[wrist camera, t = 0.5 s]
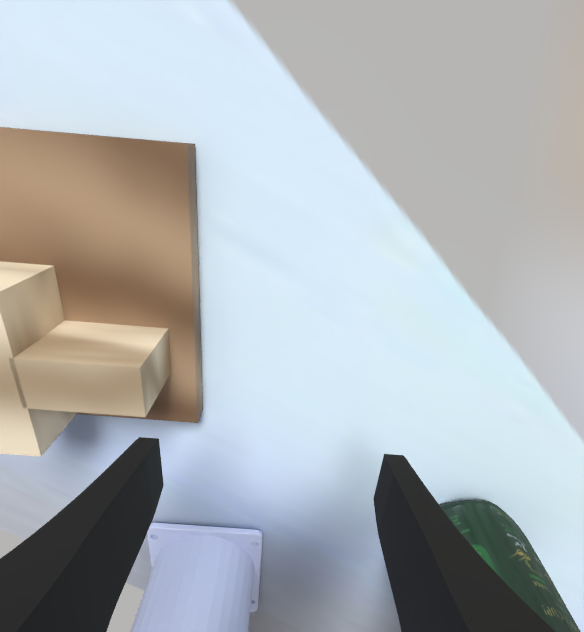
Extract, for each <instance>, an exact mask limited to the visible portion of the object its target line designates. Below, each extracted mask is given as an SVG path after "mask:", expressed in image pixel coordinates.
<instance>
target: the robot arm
mask: <svg viewBox="0 0 584 632" xmlns="http://www.w3.org/2000/svg"><path fill="white" fill-rule="evenodd" d="M162 488H163V476H162V466H161V457H160V447H159V439H156V438H141V437H139V438H138V439H137V440H136V441H135V442H134V443H133V444H132V445H131V446H130V447H129V448H128V449H127V450H126V451H125V452H124V453H123V454H122V455H121V456H120V457H119V458H118V459H117V460H116V461H115V462H114V463H113V464H112V465H110V466H109V467H108V468H107V469H106V470H105V471H104V472H103V473H102V474H101V475H100V476H99V477H98V478H97V479H96V480H95V481H94V482H93V483H92V484H91V485H89V486H88V487H87V488H86V489H85V490H84V491H83V492H82V493H81V494H80V495H79V496H78V497H76V498H75V499H74V500H73V501H72V502H71V503H70V504H68V505H67V506H66V507H65V508H64V509H63V510H61V511H60V512H59V513H58V514H57V515H56V516H55V517H53V518H52V519H51V520H50V521H49V522H47V523H46V524H45V525H44V526H42V527H41V528H40V529H39V530H38V531H36V532H35V533H34V534H33V535H31V536H30V537H29V538H27V539H26V540H25V541H23V543H21V544H20V545H18V546H17V547H16V548H14V549H13V550H12V551H11V552H9V553H8V554H6V555H5V556H3V557H2V558H1V559H0V632H106V631H107V628H108V625H109V622H110V619H111V616H112V614H113V611H114V609H115V606H116V603H117V601H118V599H119V596H120V594H121V592H122V589H123V587H124V585H125V583H126V580H127V578H128V576H129V573H130V571H131V569H132V566H133V564H134V562H135V560H136V557H137V555H138V553H139V550H140V548H141V546H142V543H143V541H144V539H145V536H146V534H147V539H148V546H149V554H150V561H151V569H152V571H151V574H150V577H149V580H148V582H147V585H146V588H145V591H144V594H143V597H142V600H141V602H140V605H139V608H138V611H137V614H136V617H135V620H134V623H133V625H132V628H131V631H130V632H248V629H249V620H250V612H255V611H257V609H258V597H259V583H260V568H261V554H262V539H263V534H262V532H261V531H259V530H254V529H240V528H225V527H211V526H197V525H182V524H168V523H151V522H152V520H153V517H154V514H155V511H156V508H157V505H158V502H159V498H160V495H161V491H162ZM374 506H375V514H376V522H377V528H378V535H379V539H380V543H381V547H382V551H383V555H384V560H385V564H386V568H387V572H388V576H389V580H390V584H391V588H392V592H393V596H394V600H395V604H396V608H397V612H398V617H399V621H400V626H401V631H402V632H556V631H555V630H554V629H553V628H552V627H550V626H549V625H548V624H547V623H546V622H545V621H544V620H543V619H542V618H541V617H540V616H539V615H538V614H537V613H536V612H535V611H533V610H532V609H531V608H530V607H529V606H528V605H527V604H526V603H525V602H524V601H523V600H522V599H521V598H520V597H519V596H518V595H517V594H516V593H515V592H514V591H513V590H512V589H511V588H510V587H509V586H508V585H507V584H506V583H505V582H504V581H503V580H502V579H501V578H500V577H499V576H498V575H497V573H496V572H495V571H494V570H493V569H492V568H491V567H490V566H489V565H488V564H487V563H486V562H485V560H484V559H483V558H482V557H481V556H480V555H479V554H478V552H477V551H476V550H475V549H474V548H473V547H472V545H471V544H470V543H469V542H468V541H467V539H466V538H465V537H464V536H463V535H462V534H461V532H460V531H459V530H458V529H457V527H456V526H455V525H454V524H453V522H452V521H451V520H450V518H449V517H448V516H447V515H446V513H445V512H444V511H443V509H442V508H441V507H440V505H439V504H438V503H437V502H436V500H435V499H434V497H433V496H432V495H431V493H430V492H429V491H428V489H427V488H426V486H425V485H424V484H423V482H422V481H421V479H420V478H419V477H418V475H417V474H416V472H415V471H414V469H413V468H412V467H411V465H410V464H409V462H408V461H407V459H406V458H405V457H404V456H403V455H389V454H384V458H383V462H382V466H381V470H380V474H379V479H378V483H377V487H376V491H375V495H374Z"/></svg>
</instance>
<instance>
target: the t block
mask: <svg viewBox="0 0 584 632" xmlns="http://www.w3.org/2000/svg"><path fill="white" fill-rule="evenodd" d="M171 372H172V371H171V357H170V343H169V329H168V328H156V327H143V326H130V325H118V324H105V323H92V322H79V321H66V320H65V318H64V313H63V308H62V303H61V298H60V294H59V289H58V284H57V279H56V274H55V269H54V266H51V265H39V264H26V263H14V262H2V261H0V454H13V455H27V456H42V455H43V454H44V453H45V451H46V450H47V449H48V448H49V447H50V445H51V444H52V443H53V442H54V441H55V439H56V438H57V437H58V436H59V435H60V433H61V432H62V431H63V430H64V429H65V427H66V426H67V425H68V424H69V423H70V421H71V420H72V419H73V418H74V417H75V415H76V414H77V413H78V412H81V413H95V414H108V415H122V416H135V417H146V415H147V414H148V412H149V410H150V408H151V407H152V405H153V403H154V401H155V400H156V398H157V396H158V394H159V393H160V391H161V389H162V387H163V386H164V384H165V382H166V380H167V379H168V377H169V375H170V373H171Z"/></svg>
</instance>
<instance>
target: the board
mask: <svg viewBox="0 0 584 632" xmlns="http://www.w3.org/2000/svg"><path fill="white" fill-rule="evenodd" d="M0 261H2V262H14V263H26V264H39V265H51V266H54V269H55V274H56V279H57V284H58V289H59V294H60V298H61V303H62V308H63V313H64V318H65V320H66V321H79V322H92V323H105V324H118V325H130V326H143V327H156V328H168V329H169V343H170V357H171V371H172V372H171V373H170V375H169V377H168V379H167V380H166V382H165V384H164V386H163V387H162V389H161V391H160V393H159V394H158V396H157V398H156V400H155V401H154V403H153V405H152V407H151V408H150V410H149V412H148V414H147V415H146V417H135V416H122V415H108V414H95V413H81V412H78V413H77V414H86V415H100V416H113V417H126V418H140V419H153V420H167V421H180V422H194V423H198V421H199V418H200V415H201V412H202V410H203V396H202V362H201V328H200V295H199V261H198V228H197V194H196V160H195V144H189V143H177V142H166V141H154V140H143V139H131V138H120V137H108V136H97V135H85V134H74V133H62V132H51V131H39V130H28V129H16V128H5V127H0Z"/></svg>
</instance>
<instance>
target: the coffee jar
mask: <svg viewBox="0 0 584 632" xmlns="http://www.w3.org/2000/svg"><path fill="white" fill-rule="evenodd" d="M440 507H441V508H442V509H443V511H444V512H445V513H446V515H447V516H448V517H449V518H450V520H451V521H452V522H453V524H454V525H455V526H456V527H457V529H458V530H459V531H460V532H461V534H462V535H463V536H464V537H465V538H466V539H467V541H468V542H469V543H470V544H471V545H472V547H473V548H474V549H475V550H476V551H477V552H478V554H479V555H480V556H481V557H482V558H483V559H484V560H485V562H486V563H487V564H488V565H489V566H490V567H491V568H492V569H493V570H494V571H495V572H496V573H497V575H498V576H499V577H500V578H501V579H502V580H503V581H504V582H505V583H506V584H507V585H508V586H509V587H510V588H511V589H512V590H513V591H514V592H515V593H516V594H517V595H518V596H519V597H520V598H521V599H522V600H523V601H524V602H525V603H526V604H527V605H528V606H529V607H530V608H531V609H532V610H533V611H535V612H536V613H537V614H538V615H539V616H540V617H541V618H542V619H543V620H544V621H545V622H546V623H547V624H548V625H549V626H550V627H552V628H553V629H554V630H555V631H556V632H580V630H579V628H578V626H577V625H576V623H575V621H574V619H573V618H572V616H571V614H570V612H569V611H568V609H567V607H566V605H565V604H564V602H563V600H562V598H561V596H560V595H559V593H558V591H557V589H556V587H555V586H554V584H553V582H552V580H551V578H550V577H549V575H548V573H547V572H546V570H545V568H544V566H543V565H542V563H541V561H540V560H539V558H538V556H537V554H536V553H535V551H534V549H533V548H532V546H531V544H530V543H529V541H528V539H527V538H526V536H525V535H524V533H523V532H522V530H521V529H520V528H519V526H518V525H517V524H516V523H515V522H514V520H513V519H512V518H510V517H509V516H508V515H507V514H506V513H505V512H504V511H503V510H502V509H501V508H499V507H498V506H497V505H495V504H493V503H491V502H489V501H486V500H466V501H460V502H453V503H446V504H443V505H440Z"/></svg>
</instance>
